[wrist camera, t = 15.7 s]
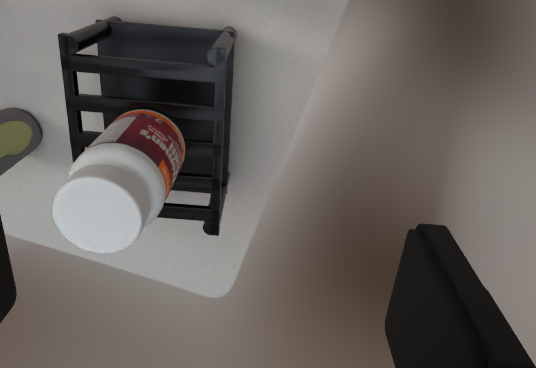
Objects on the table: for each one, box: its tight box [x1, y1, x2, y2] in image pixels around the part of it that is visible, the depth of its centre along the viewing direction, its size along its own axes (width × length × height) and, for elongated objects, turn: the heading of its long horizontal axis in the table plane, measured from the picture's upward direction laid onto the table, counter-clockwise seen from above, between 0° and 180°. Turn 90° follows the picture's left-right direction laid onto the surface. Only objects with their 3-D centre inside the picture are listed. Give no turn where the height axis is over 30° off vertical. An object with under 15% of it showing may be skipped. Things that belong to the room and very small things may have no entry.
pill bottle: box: [53, 109, 185, 254], centre depth 31 cm, size 6×6×11 cm
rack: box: [58, 16, 237, 236], centre depth 41 cm, size 12×16×11 cm
